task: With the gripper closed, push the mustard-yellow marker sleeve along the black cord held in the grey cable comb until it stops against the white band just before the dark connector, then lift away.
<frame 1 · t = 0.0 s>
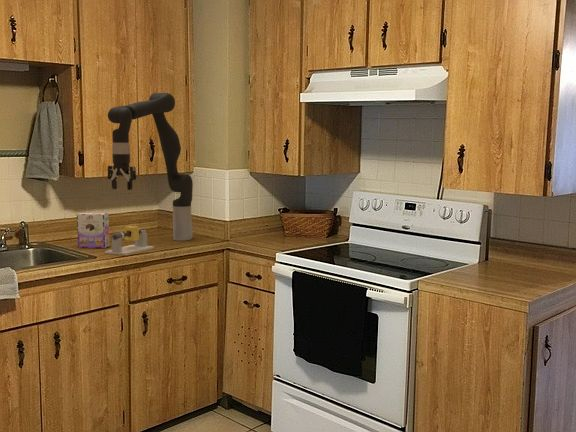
hand: (122, 189, 308), 29 cm above the table, tool pointing down, fingers open, 8 cm apart
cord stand: (130, 250, 320), on the table
candy box: (93, 247, 329), on the table
marker sleeve: (131, 233, 320), point 8 cm above the table, slide at 0.0 cm
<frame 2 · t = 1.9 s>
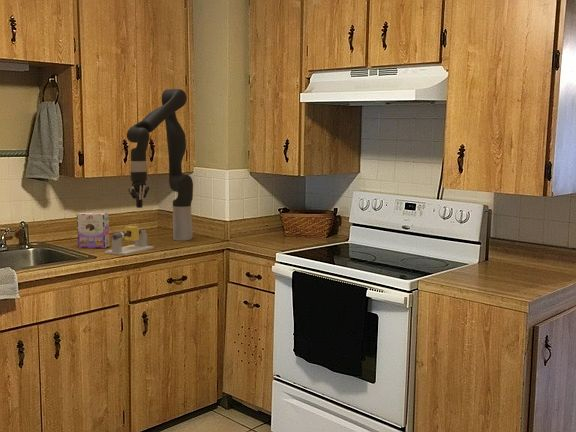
hand: (139, 207, 324), 19 cm above the table, tool pointing down, fingers closed
nothing on the table moved.
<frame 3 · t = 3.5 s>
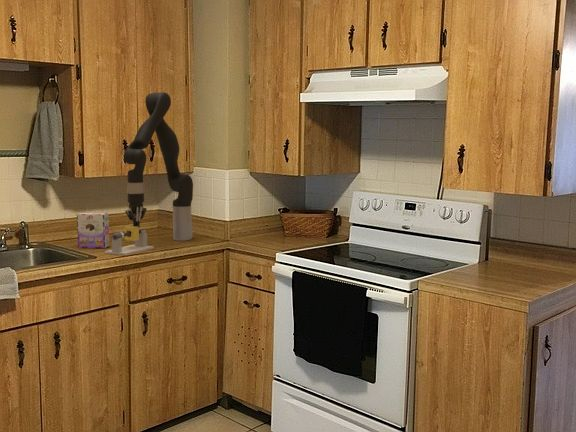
hand: (136, 229, 323), 9 cm above the table, tool pointing down, fingers closed
marker sleeve: (131, 233, 320), point 8 cm above the table, slide at 0.1 cm, touching gripper
everything else where it was.
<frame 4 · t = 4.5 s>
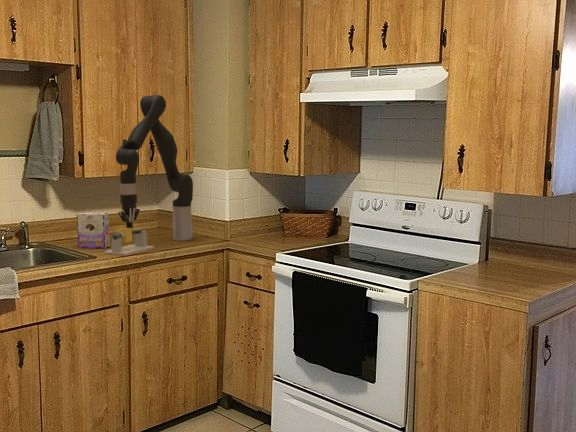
hand: (129, 230, 319), 9 cm above the table, tool pointing down, fingers closed
marker sleeve: (124, 234, 316), point 8 cm above the table, slide at 4.9 cm, touching gripper
everything else where it was.
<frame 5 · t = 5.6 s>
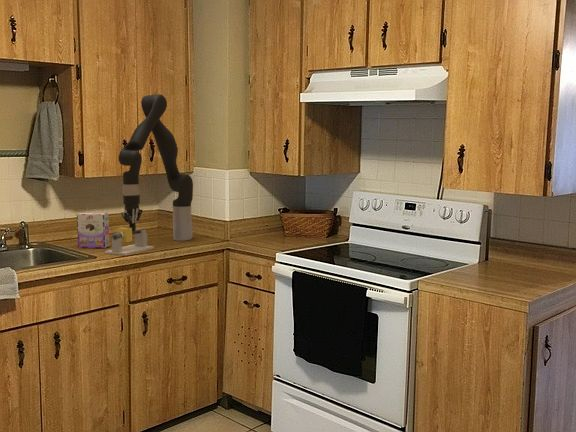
hand: (132, 230, 321), 9 cm above the table, tool pointing down, fingers closed
marker sleeve: (124, 234, 316), point 8 cm above the table, slide at 4.9 cm
everything else where it was.
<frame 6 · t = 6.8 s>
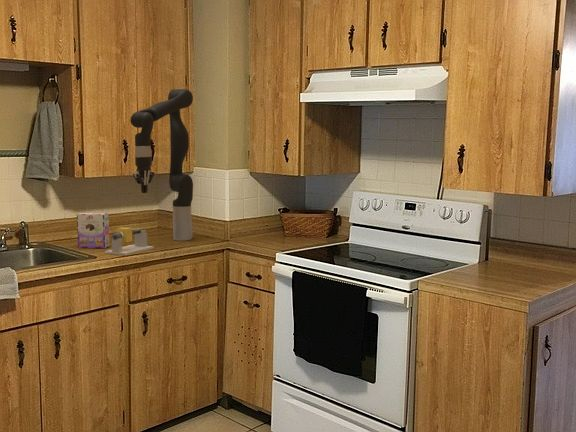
hand: (144, 192, 323), 26 cm above the table, tool pointing down, fingers closed
nothing on the table moved.
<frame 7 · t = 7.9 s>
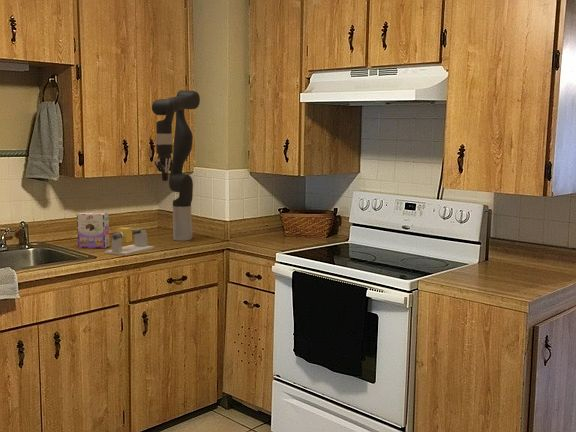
hand: (165, 180, 322), 32 cm above the table, tool pointing down, fingers closed
nothing on the table moved.
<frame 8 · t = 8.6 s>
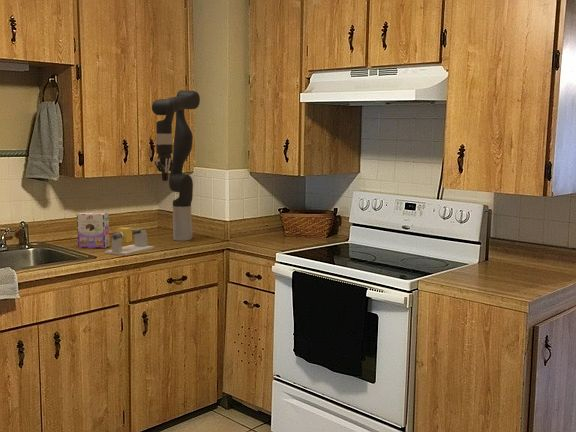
hand: (165, 180, 322), 32 cm above the table, tool pointing down, fingers closed
nothing on the table moved.
at the end: marker sleeve slide at 4.9 cm; marker sleeve touching nothing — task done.
